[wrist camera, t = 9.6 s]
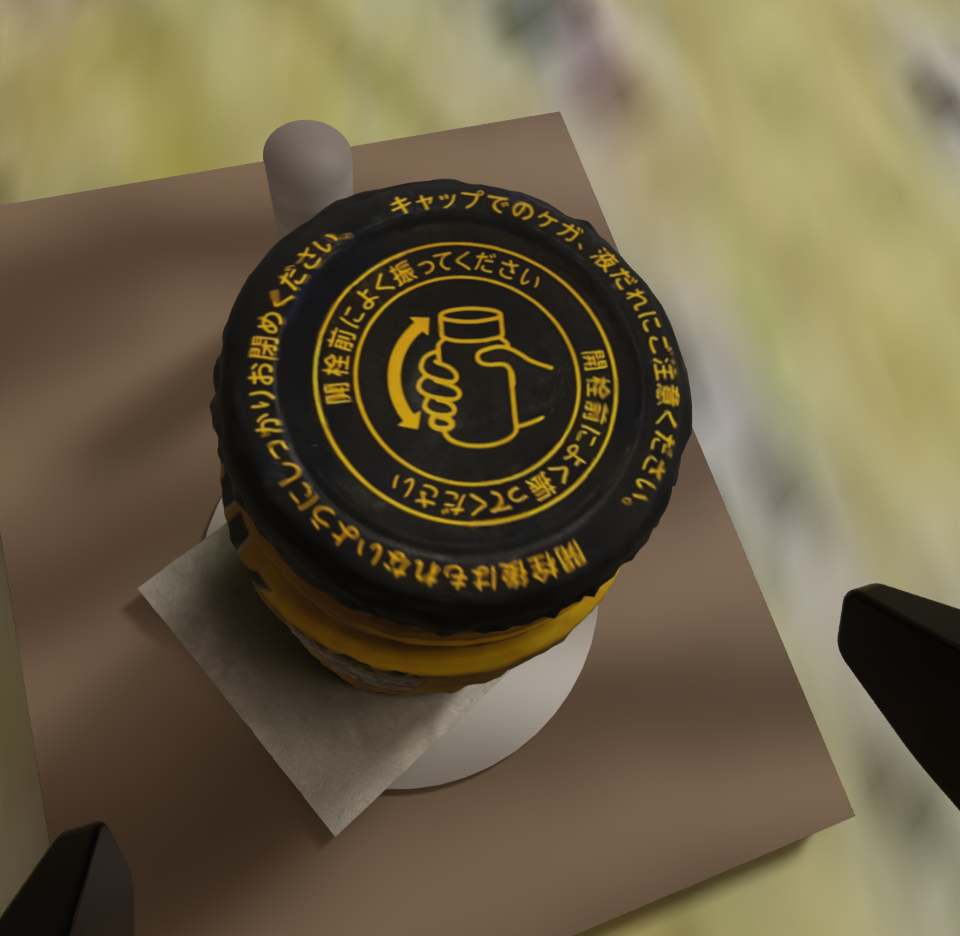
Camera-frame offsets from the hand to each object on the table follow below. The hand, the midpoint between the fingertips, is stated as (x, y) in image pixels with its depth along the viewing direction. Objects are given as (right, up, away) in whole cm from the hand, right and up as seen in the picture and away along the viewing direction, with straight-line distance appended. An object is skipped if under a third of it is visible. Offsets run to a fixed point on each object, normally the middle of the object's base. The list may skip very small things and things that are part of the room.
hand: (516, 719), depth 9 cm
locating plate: (-3, +2, +12) cm, 13 cm away
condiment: (-3, 0, +10) cm, 11 cm away
